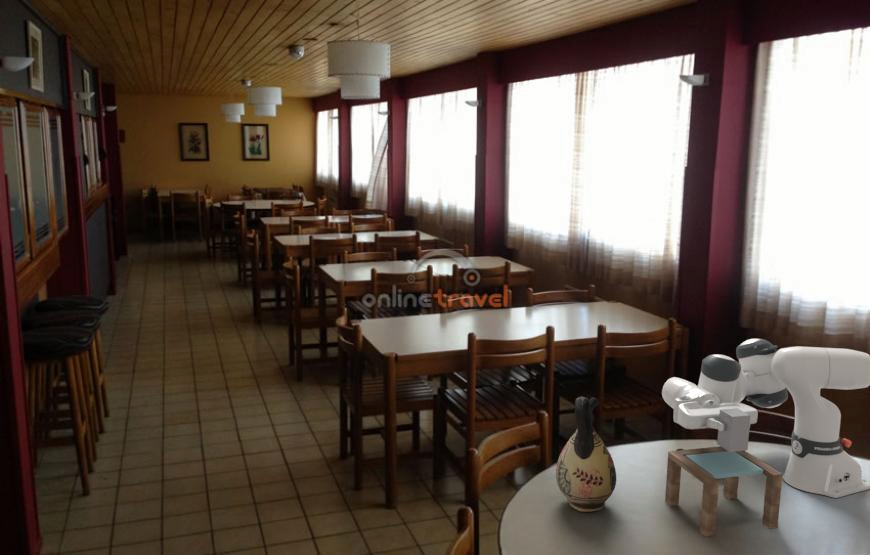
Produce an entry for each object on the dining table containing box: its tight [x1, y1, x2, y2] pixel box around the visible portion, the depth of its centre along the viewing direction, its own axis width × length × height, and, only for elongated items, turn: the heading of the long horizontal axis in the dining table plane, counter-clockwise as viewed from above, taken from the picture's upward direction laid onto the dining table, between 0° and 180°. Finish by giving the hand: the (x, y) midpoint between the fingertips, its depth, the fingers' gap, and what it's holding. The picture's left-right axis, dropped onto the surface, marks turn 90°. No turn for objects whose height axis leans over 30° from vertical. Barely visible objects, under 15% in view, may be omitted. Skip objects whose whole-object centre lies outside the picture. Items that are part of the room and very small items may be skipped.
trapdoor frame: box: [664, 445, 784, 537], centre depth 186 cm, size 20×18×14 cm
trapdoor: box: [685, 451, 763, 480], centre depth 185 cm, size 14×12×1 cm
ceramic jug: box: [555, 396, 617, 512], centre depth 189 cm, size 17×15×30 cm
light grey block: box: [716, 408, 751, 452], centre depth 180 cm, size 5×5×9 cm
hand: (736, 427), depth 179 cm, fingers closed on light grey block, 5 cm apart
